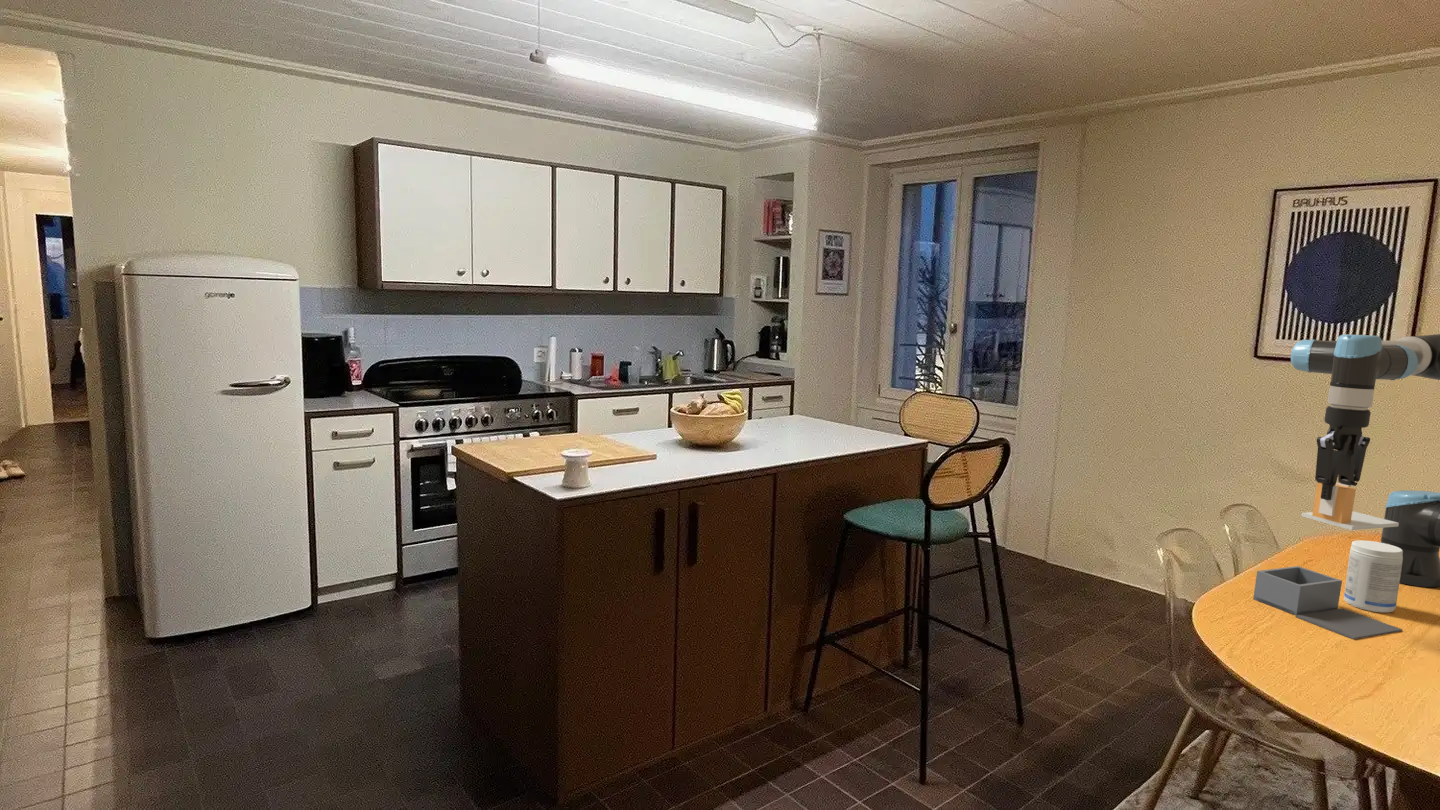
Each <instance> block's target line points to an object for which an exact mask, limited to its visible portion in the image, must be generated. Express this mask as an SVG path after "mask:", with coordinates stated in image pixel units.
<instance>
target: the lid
mask: <svg viewBox="0 0 1440 810" xmlns="http://www.w3.org/2000/svg"><path fill="white" fill-rule="evenodd" d="M1335 486H1339V487H1338V492H1337V499H1336V505H1335V512H1334V516H1330V515H1326V514H1322V513H1319V507H1320V500H1321V491H1322V483H1318V482H1317V483H1316V489H1315V495H1314V496H1315V497H1314V503H1313V508H1312V511H1309V512H1307V511H1305V512H1301V515H1300V516H1301V517H1303V518H1307V519H1310V520H1314V521H1317V522H1320V523H1324V524H1327V525H1331V526H1335V527H1338V528H1342V529H1346V530H1350V531H1358V530H1369V529H1370V530H1371V529H1383V528H1385V527H1398V525H1399V523H1397V522H1394V521H1390V520H1386V519H1384V518H1382V517H1381V518H1380V517H1377V516H1374V515H1369V514H1365V513H1362V512H1358V511H1353V509H1354V503H1355V497H1356V490H1357V488H1355V487H1351V486H1350V487H1346V486H1342V485H1338V484H1336V485H1335Z"/></svg>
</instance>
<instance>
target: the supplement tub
mask: <svg viewBox="0 0 1440 810" xmlns="http://www.w3.org/2000/svg"><path fill="white" fill-rule="evenodd" d="M1380 542H1381V541H1380ZM1380 542H1379V541H1373V540H1362V539H1360V540H1353V541H1352V542H1351V546H1350V550H1349V556H1348V562H1347V563H1348V564H1347V571H1346V572H1347V573H1346V577H1345V578H1346V579H1345V586H1344V594H1343V599H1344V601H1345V602H1346V604H1348V605H1350V606H1352V607H1354V608H1357V609H1360V610H1364V611H1370V612H1373V613H1382V614H1383V613H1392V612H1394V611H1396V608H1397V603H1398V602H1397V601H1398V596H1399V588H1400V583H1399V582H1400V575H1401V569H1402V561H1403V556H1402V554H1403V550H1402V549H1400V548H1398V547H1396V546H1393V545H1389V544H1385V543H1380Z"/></svg>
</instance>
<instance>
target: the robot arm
mask: <svg viewBox="0 0 1440 810" xmlns="http://www.w3.org/2000/svg"><path fill="white" fill-rule="evenodd" d="M1290 362H1291V363H1290V364H1291V365H1292V366H1293V368H1294V369H1295V370H1297V371H1301V372H1307V373H1317V374H1326V375H1331V377H1330V382H1329V390H1328V394H1327V404H1329V405H1328V406H1326V408H1325V413H1324V419H1323V420H1324V423H1326V424H1328V426H1329V427H1328V430H1327V431H1326V435H1325V436H1318V437H1316V445H1317V453H1316V455H1317V456H1316V463H1315V464H1316V466H1315V478H1314V479H1315V480H1314V481H1316V482H1317V483H1322V491H1321V500H1320V507H1319V513H1322V514H1326V515H1330V516H1334V512H1335V505H1336V499H1337V492H1338V487H1339V486H1335V485H1336V484H1338V485H1342V486H1346V487H1351V486H1352V487H1356V486H1357V485H1358V482H1360V480H1361V475H1362V471H1363V466H1364V462H1365V458H1366V453H1367V448H1368V446H1369V444H1370V442H1371V438H1370V437H1367V436H1364V435H1363V429H1365V428H1368V427H1369V425H1370V420H1371V413H1372V412H1371V411H1370V408H1372V407H1373V401H1374V395H1375V394H1374V393H1375V389H1376V388H1375V387H1376V381H1377V380H1386V381H1389V380H1390V381H1395V380H1401V379H1405V378H1407V377H1410V376H1413V377H1420V378H1426V379H1430V380H1431V379H1432V380H1437V381H1440V333H1437V334H1427V335H1426V334H1425V335H1415V336H1409V335H1407V336H1402V337H1399V338H1397V339H1395V340H1382V337H1380V336H1378V335H1370V334H1369V335H1367V334H1349V333H1348V334H1347V333H1345V334H1344V333H1343V334H1341V335H1339V336H1338V338H1337V340H1320V339H1319V340H1317V339H1315V338H1314V339H1302V340H1301V339H1300V340H1299V341H1297V342H1296V343H1295V344H1294V346H1293V348H1292V350H1291V353H1290ZM1362 428H1363V429H1362ZM1337 481H1338V482H1337ZM1387 497H1388V498H1387V501H1386V505H1385V507H1384V508H1385V511H1384V518H1383V519H1386V520H1390V521H1394V522H1397V523H1399V525H1398V527H1385V528H1382V530H1381V536H1380V538H1381V539H1380V543H1385V544H1389V545H1393V546H1396V547H1398V548H1400V549H1402V550H1403V554H1402V556H1403V561H1402V569H1401V575H1400V582H1399V584H1402V585H1403V584H1404V585H1409V586H1415V587H1422V588H1423V587H1424V588H1440V492H1439V491H1428V490H1427V491H1425V490H1409V489H1408V490H1407V489H1405V490H1401V489H1400V490H1394V491H1392V492H1391V493H1389V495H1388V496H1387Z"/></svg>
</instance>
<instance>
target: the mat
mask: <svg viewBox="0 0 1440 810" xmlns="http://www.w3.org/2000/svg"><path fill="white" fill-rule="evenodd" d="M1294 616H1295V615H1294ZM1295 618H1297V619H1299V620H1302V621H1304V622H1307V623H1310V624H1311V625H1315V626H1317V627H1320V628H1322V629H1325V630H1328V631H1330V632H1333V633H1335V634H1338V635H1340V636H1343V637H1345V638H1348V639H1351V640H1359V639H1365V638H1370V637H1375V636H1383V635H1389V634H1393V633H1398V632H1399V633H1400V632H1403V629H1402V628H1400V627H1397V626H1393V625H1391V624H1388V623H1386V622H1383V621H1380V620H1378V619H1374V618H1372V617H1369V616H1366V615H1363V614H1362V613H1361V614H1360V613H1359V612H1355V611H1352V610H1349V609H1346V608H1344V607H1341V608H1338V609H1334V610H1328V611H1321V612H1315V613H1308V614H1302V615H1296V616H1295Z"/></svg>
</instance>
